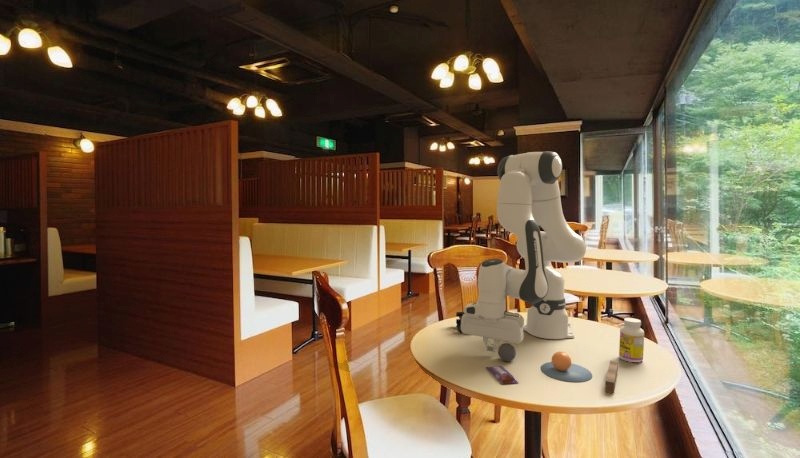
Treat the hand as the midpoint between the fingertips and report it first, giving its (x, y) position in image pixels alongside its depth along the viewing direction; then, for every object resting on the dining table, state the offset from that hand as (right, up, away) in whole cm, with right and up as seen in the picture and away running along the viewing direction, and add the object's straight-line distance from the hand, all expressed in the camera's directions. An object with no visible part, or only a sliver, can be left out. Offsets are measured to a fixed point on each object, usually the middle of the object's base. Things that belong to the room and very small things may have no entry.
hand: (490, 351), depth 129 cm
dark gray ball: (+4, +1, -4) cm, 6 cm away
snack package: (0, -4, -15) cm, 15 cm away
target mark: (+19, -2, -12) cm, 23 cm away
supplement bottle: (+44, -2, -3) cm, 44 cm away
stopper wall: (+30, -3, -18) cm, 35 cm away
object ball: (+18, 0, -11) cm, 22 cm away
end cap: (-3, 0, +27) cm, 27 cm away
